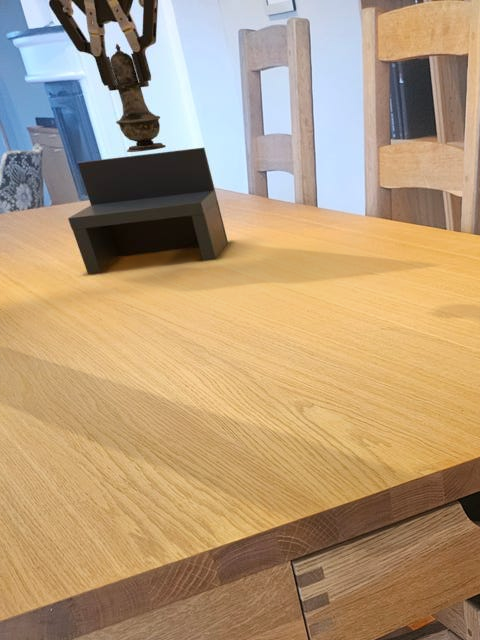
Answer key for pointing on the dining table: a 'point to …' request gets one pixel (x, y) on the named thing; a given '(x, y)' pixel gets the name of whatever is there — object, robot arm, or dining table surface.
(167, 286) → the dining table surface
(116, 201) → the bench
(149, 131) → the salt shaker
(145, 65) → the robot arm
